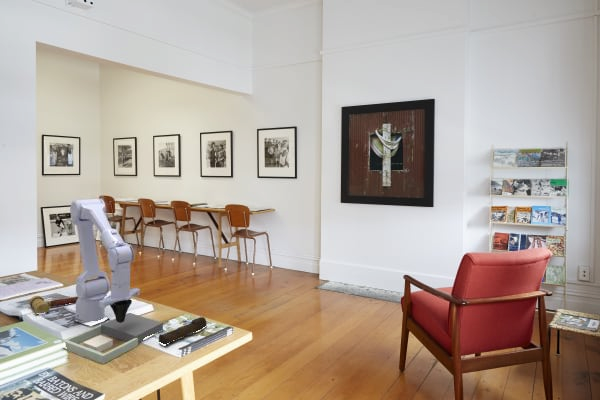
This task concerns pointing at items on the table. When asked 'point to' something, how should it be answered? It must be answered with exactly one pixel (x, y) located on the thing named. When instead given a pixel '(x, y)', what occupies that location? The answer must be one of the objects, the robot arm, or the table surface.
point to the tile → (99, 343)
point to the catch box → (92, 354)
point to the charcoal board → (131, 328)
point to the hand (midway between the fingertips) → (120, 321)
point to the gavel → (48, 303)
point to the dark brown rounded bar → (183, 330)
